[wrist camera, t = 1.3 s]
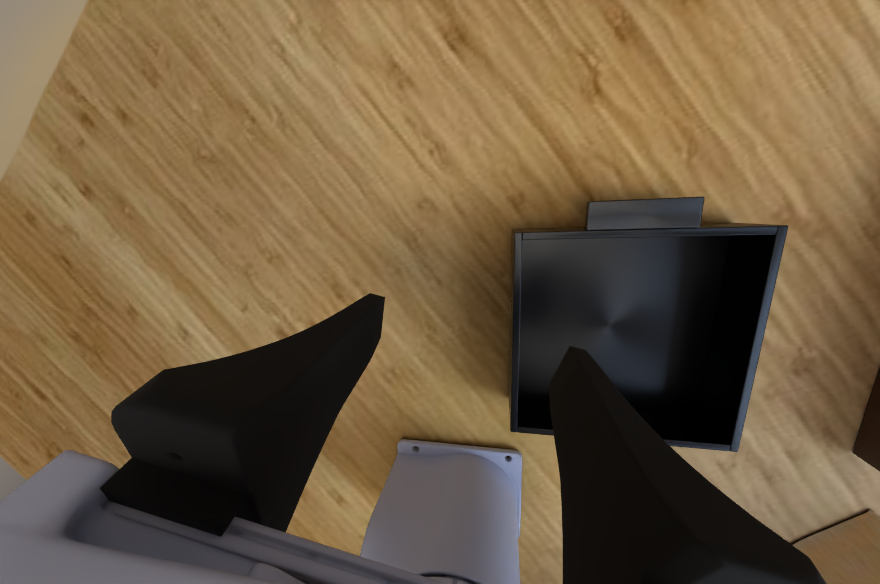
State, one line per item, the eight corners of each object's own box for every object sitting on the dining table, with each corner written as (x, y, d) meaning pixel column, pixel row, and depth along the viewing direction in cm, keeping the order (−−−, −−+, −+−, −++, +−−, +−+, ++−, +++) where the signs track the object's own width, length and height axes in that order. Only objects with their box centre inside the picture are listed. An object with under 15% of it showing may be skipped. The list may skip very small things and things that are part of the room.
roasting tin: (508, 416, 23) (510, 451, 20) (512, 205, 19) (514, 204, 16) (695, 431, 21) (733, 473, 17) (738, 196, 17) (796, 192, 14)
